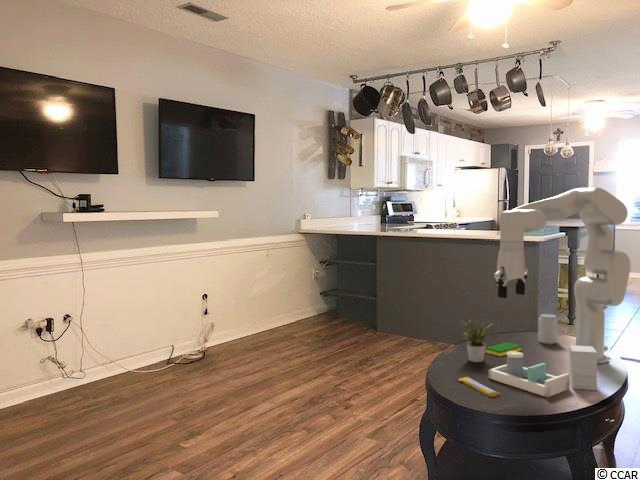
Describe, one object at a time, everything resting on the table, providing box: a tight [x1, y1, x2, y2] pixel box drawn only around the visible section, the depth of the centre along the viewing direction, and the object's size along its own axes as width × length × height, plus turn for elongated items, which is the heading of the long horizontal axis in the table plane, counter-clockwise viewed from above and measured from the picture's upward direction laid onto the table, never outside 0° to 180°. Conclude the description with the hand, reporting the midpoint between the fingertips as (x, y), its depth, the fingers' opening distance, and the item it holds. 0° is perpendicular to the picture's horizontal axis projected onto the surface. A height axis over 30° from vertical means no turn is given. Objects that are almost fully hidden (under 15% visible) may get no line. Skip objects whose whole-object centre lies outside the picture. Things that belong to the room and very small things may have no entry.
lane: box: [488, 363, 570, 398], centre depth 172 cm, size 12×22×5 cm, turn 34°
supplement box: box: [568, 344, 598, 391], centre depth 169 cm, size 7×7×13 cm
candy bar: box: [458, 376, 501, 398], centre depth 169 cm, size 17×4×2 cm, turn 21°
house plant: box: [457, 318, 494, 363], centre depth 198 cm, size 14×14×16 cm
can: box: [537, 313, 559, 345], centre depth 221 cm, size 8×8×12 cm
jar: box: [506, 351, 524, 379], centre depth 176 cm, size 5×5×9 cm
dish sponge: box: [485, 342, 522, 357], centre depth 209 cm, size 7×14×2 cm, turn 124°
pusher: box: [527, 362, 547, 385], centre depth 168 cm, size 8×5×7 cm, turn 124°
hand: (511, 295), depth 178 cm, fingers open, 9 cm apart
